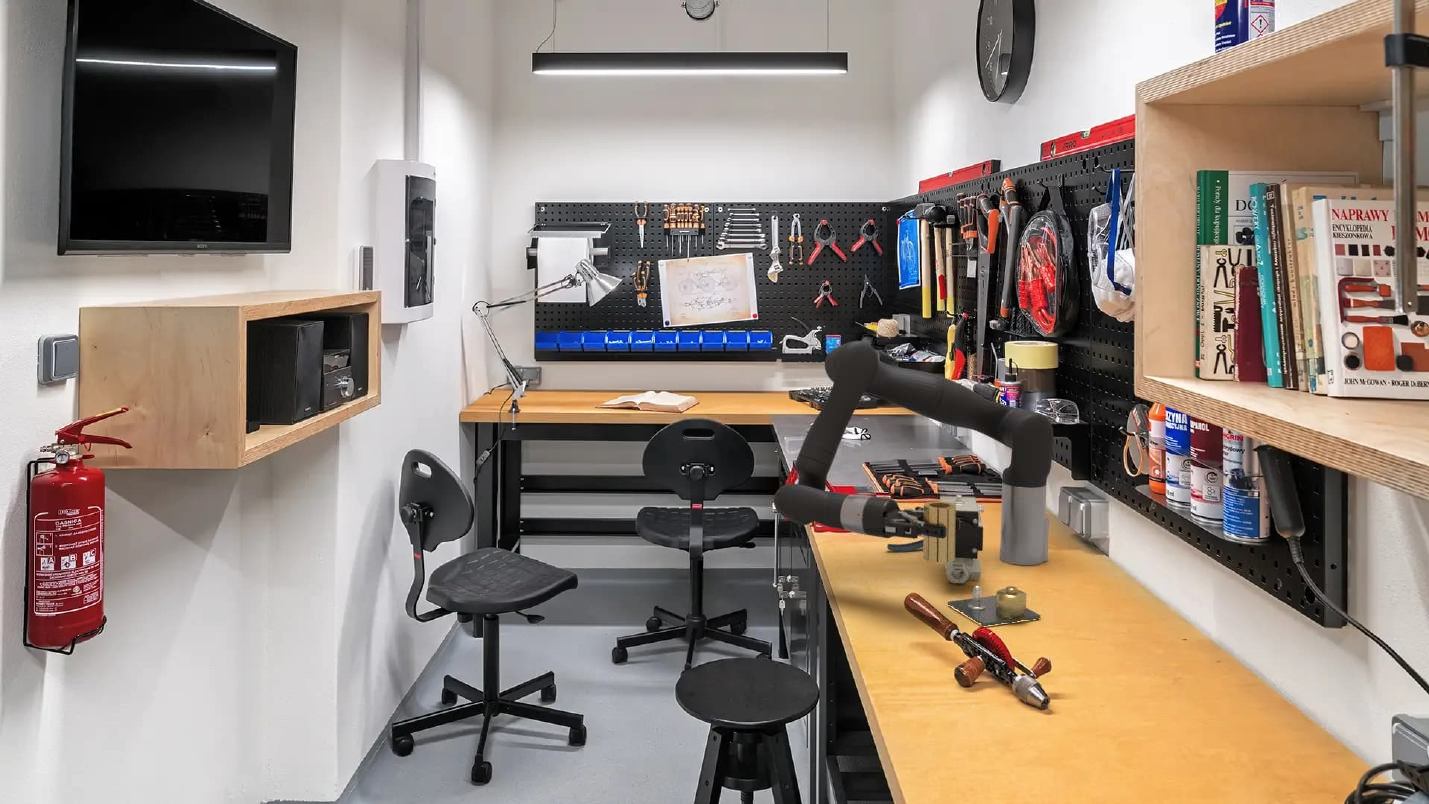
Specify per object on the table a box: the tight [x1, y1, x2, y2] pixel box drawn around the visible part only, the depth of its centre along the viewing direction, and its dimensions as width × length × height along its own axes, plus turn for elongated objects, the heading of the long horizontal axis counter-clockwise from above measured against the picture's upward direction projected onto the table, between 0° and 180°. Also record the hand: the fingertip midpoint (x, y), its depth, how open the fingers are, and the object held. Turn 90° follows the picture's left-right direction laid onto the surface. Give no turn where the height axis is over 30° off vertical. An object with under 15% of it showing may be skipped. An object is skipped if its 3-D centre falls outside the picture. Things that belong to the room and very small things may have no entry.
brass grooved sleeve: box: [922, 500, 956, 564], centre depth 173 cm, size 6×6×10 cm
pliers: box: [886, 536, 923, 553], centre depth 216 cm, size 20×2×6 cm, turn 99°
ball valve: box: [939, 494, 985, 584], centre depth 194 cm, size 18×8×18 cm, turn 168°
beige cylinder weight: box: [996, 585, 1027, 620], centre depth 172 cm, size 5×5×5 cm
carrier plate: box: [947, 585, 1042, 627], centre depth 175 cm, size 12×12×5 cm
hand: (952, 528), depth 171 cm, fingers closed on brass grooved sleeve, 5 cm apart
